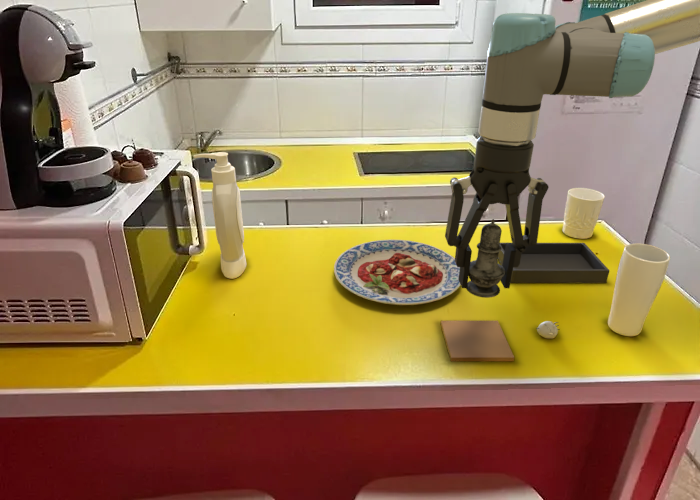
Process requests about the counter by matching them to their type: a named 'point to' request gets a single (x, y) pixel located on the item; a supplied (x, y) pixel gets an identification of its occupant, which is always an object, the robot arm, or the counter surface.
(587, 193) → the white cup
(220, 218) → the soap bottle
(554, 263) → the tray
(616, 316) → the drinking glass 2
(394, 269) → the ceramic plate
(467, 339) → the cork mat
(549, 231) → the counter surface
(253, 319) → the counter surface
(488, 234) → the salt shaker
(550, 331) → the cream rounded lump
